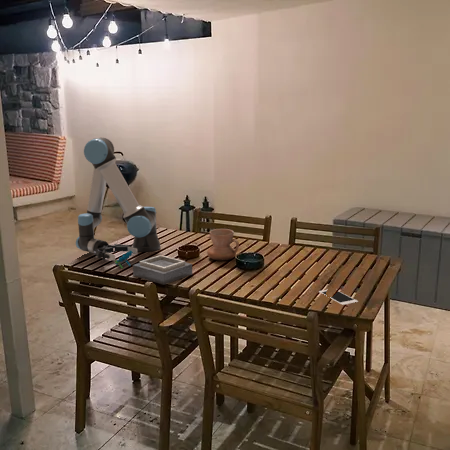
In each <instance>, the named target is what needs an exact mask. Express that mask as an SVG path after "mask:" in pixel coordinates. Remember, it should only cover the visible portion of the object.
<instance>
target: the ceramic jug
mask: <svg viewBox="0 0 450 450" xmlns="http://www.w3.org/2000/svg"><path fill="white" fill-rule="evenodd" d="M234 233H235V232H234V230H233V229H230V228H229V229H228V228H216V229H211V230H210V231H209V234H208V235H207V234H206V238H207V239H210V240H211V242H212V245H211V246H210V247H209V248H207V252H206V254H207V256H208V258H210V259H212V260H215V261H228V260H232V259H234V258H235V257H236V255H237V252H238V250H239V248H240V242H239V240H238V239H236V238H234V235H235V234H234ZM234 242H235V248H234V247H232V246H231V244H232V243H234Z"/></svg>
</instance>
